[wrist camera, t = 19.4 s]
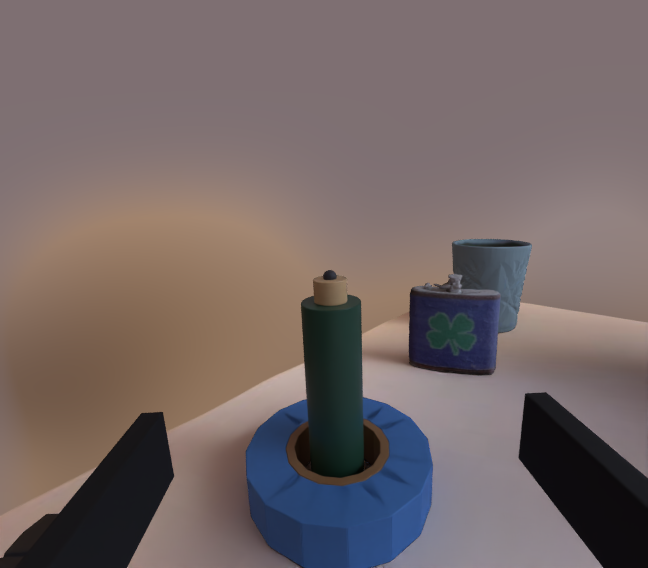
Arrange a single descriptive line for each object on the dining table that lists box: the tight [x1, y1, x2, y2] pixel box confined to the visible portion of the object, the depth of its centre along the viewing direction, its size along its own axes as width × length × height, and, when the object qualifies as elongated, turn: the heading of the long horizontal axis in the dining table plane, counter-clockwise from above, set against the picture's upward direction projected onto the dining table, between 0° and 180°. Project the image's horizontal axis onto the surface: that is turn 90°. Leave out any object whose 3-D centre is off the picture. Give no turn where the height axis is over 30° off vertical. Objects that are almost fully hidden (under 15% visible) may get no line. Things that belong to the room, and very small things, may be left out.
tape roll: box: [246, 397, 433, 568], centre depth 24 cm, size 12×12×3 cm
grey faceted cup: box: [452, 239, 532, 333], centre depth 51 cm, size 10×10×12 cm
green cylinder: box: [301, 270, 364, 478], centre depth 22 cm, size 4×4×15 cm
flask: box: [409, 274, 501, 375], centre depth 38 cm, size 9×3×11 cm, turn 69°
